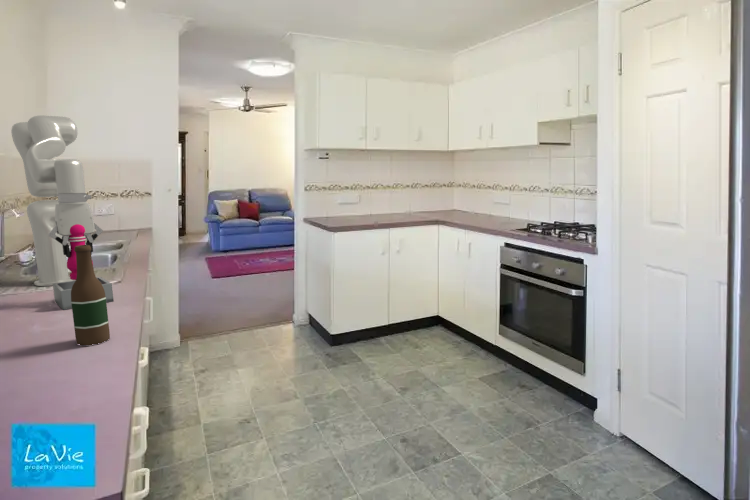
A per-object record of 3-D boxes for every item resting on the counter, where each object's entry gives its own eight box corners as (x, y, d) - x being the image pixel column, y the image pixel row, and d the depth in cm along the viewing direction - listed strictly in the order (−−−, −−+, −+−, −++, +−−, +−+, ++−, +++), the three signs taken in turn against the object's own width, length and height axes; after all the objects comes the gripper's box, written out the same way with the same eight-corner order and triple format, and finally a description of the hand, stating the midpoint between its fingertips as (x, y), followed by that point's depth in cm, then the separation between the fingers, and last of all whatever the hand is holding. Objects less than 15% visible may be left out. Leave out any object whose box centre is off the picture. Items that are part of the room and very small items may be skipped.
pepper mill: (82, 280, 150) (74, 217, 147) (62, 280, 151) (55, 217, 148) (99, 275, 157) (93, 215, 154) (81, 275, 158) (74, 215, 155)
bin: (54, 301, 156) (52, 283, 155) (102, 293, 165) (100, 276, 164) (63, 310, 146) (60, 291, 145) (113, 301, 155) (111, 283, 154)
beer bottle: (101, 333, 123) (91, 242, 119) (117, 339, 119) (107, 244, 115) (69, 342, 117) (57, 246, 113) (84, 349, 113) (72, 249, 109)
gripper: (99, 197, 158) (105, 251, 161) (37, 200, 147) (45, 257, 150) (105, 198, 153) (111, 253, 156) (41, 200, 142) (49, 260, 144)
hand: (78, 255), depth 153 cm, fingers closed on pepper mill, 5 cm apart
